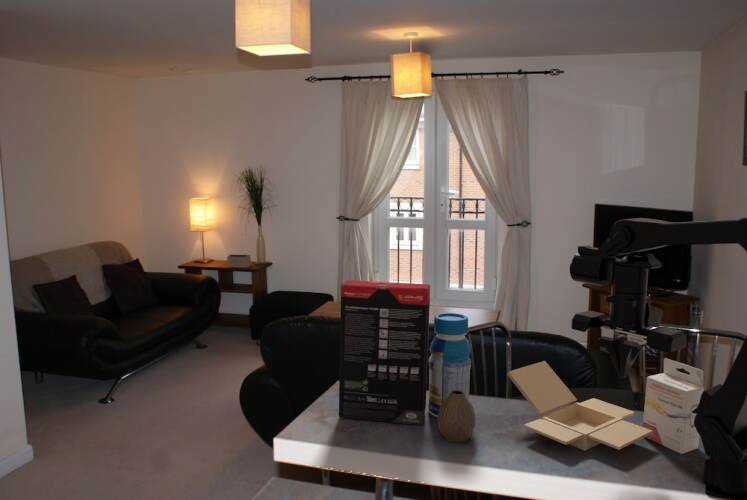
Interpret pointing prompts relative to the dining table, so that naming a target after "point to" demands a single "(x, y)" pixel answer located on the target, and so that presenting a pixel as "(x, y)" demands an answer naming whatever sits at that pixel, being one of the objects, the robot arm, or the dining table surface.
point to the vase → (456, 417)
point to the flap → (541, 387)
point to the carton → (589, 425)
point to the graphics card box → (384, 351)
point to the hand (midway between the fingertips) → (622, 377)
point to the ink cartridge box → (673, 406)
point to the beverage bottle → (448, 359)
